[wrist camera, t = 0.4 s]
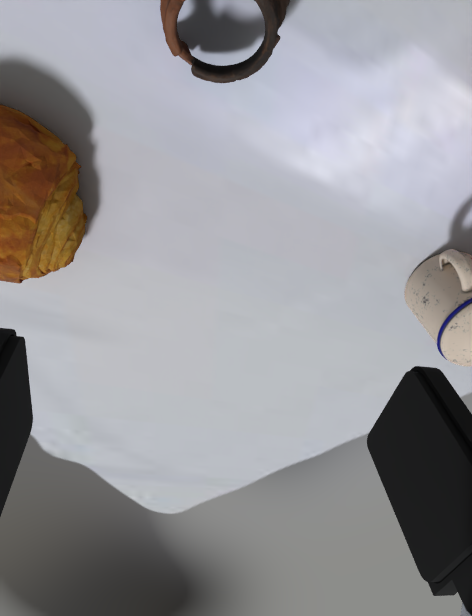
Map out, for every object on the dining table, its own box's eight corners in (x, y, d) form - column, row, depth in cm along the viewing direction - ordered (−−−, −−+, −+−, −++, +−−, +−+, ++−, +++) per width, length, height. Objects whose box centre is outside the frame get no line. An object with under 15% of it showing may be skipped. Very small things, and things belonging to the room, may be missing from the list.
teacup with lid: (484, 295, 49) (556, 363, 40) (410, 326, 51) (461, 399, 41) (472, 210, 43) (554, 268, 33) (386, 249, 44) (441, 315, 35)
